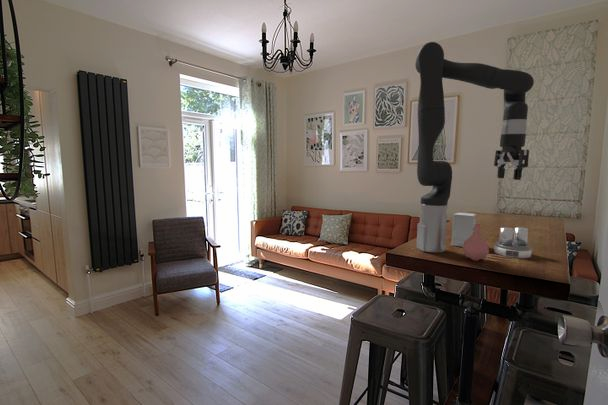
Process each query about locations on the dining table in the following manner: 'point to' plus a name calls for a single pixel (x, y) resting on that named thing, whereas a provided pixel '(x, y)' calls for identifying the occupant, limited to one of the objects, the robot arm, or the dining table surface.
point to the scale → (513, 250)
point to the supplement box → (462, 228)
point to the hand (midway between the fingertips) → (508, 178)
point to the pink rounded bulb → (475, 245)
